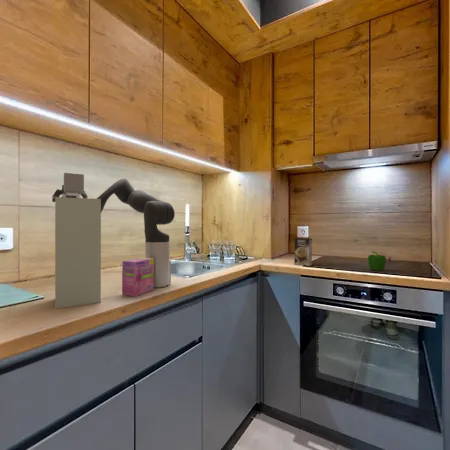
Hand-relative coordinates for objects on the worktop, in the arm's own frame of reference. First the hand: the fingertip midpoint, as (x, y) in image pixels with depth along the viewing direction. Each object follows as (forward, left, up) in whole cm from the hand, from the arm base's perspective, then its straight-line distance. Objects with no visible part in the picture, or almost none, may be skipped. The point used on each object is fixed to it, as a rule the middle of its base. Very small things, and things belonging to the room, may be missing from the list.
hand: (71, 186), depth 110 cm
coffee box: (-101, +68, -39) cm, 128 cm away
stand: (+13, +23, -39) cm, 47 cm away
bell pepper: (-100, +107, -40) cm, 152 cm away
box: (-4, +32, -40) cm, 51 cm away
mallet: (+2, +4, -3) cm, 6 cm away
